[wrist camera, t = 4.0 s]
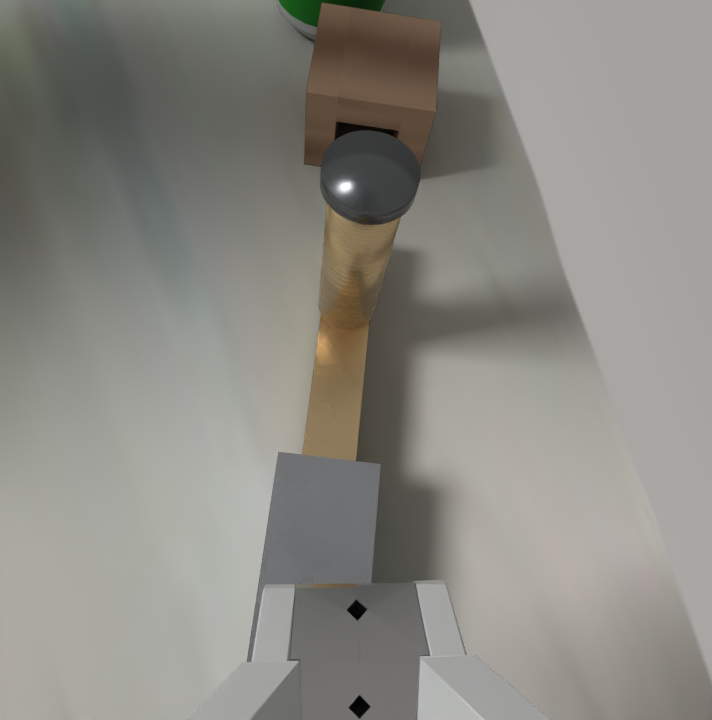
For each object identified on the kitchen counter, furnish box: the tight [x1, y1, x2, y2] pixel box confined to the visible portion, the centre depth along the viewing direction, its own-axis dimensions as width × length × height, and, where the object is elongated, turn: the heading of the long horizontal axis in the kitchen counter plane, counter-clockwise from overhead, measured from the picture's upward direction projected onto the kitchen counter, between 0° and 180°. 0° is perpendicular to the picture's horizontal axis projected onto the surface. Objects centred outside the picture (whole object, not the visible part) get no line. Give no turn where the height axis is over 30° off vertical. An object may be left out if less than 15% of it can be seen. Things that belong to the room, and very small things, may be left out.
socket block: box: [304, 3, 441, 167], centre depth 35 cm, size 7×7×6 cm
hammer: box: [302, 130, 420, 461], centre depth 23 cm, size 22×3×12 cm, turn 175°
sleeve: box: [247, 452, 381, 662], centre depth 25 cm, size 10×4×4 cm, turn 175°
